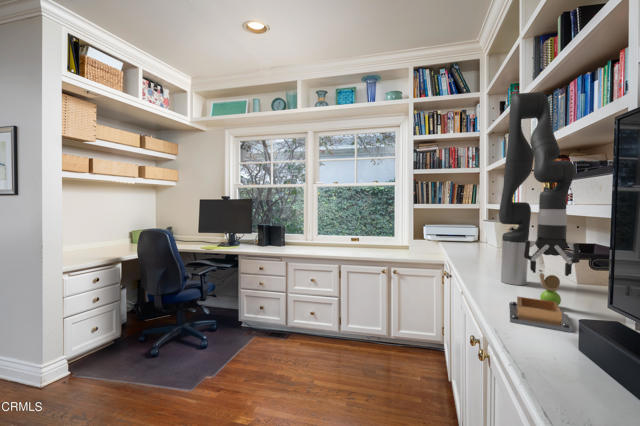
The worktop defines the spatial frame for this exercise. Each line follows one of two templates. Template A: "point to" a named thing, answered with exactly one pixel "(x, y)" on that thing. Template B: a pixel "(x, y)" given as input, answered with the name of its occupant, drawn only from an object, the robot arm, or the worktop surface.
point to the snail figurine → (550, 288)
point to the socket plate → (539, 314)
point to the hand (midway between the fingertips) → (549, 273)
